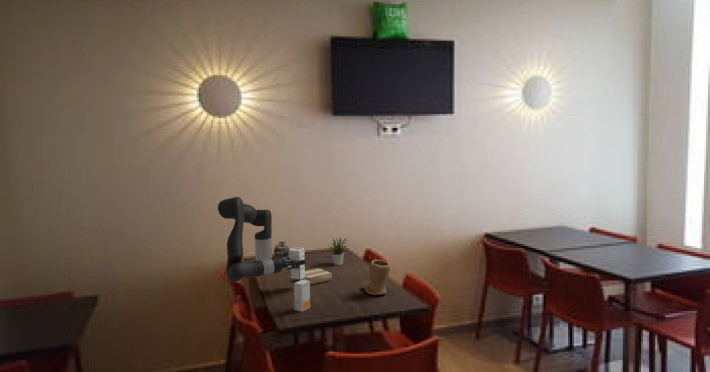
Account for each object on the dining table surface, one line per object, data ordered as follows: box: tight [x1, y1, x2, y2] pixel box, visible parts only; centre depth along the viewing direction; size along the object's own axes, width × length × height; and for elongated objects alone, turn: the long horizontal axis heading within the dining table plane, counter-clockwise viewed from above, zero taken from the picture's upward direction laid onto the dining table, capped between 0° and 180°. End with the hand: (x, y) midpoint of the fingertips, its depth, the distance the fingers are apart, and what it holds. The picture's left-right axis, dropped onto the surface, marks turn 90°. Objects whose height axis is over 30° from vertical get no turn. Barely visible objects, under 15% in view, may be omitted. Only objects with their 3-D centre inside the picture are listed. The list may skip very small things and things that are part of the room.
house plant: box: [328, 235, 350, 266], centre depth 280 cm, size 14×14×16 cm
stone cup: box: [362, 259, 391, 296], centre depth 230 cm, size 15×12×15 cm
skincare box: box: [293, 280, 311, 313], centre depth 209 cm, size 6×4×12 cm
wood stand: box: [301, 267, 333, 286], centre depth 250 cm, size 13×13×4 cm
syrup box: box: [288, 246, 306, 281], centre depth 237 cm, size 6×6×14 cm
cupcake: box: [273, 241, 290, 257], centre depth 297 cm, size 10×10×10 cm
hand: (300, 259), depth 238 cm, fingers closed on syrup box, 8 cm apart
